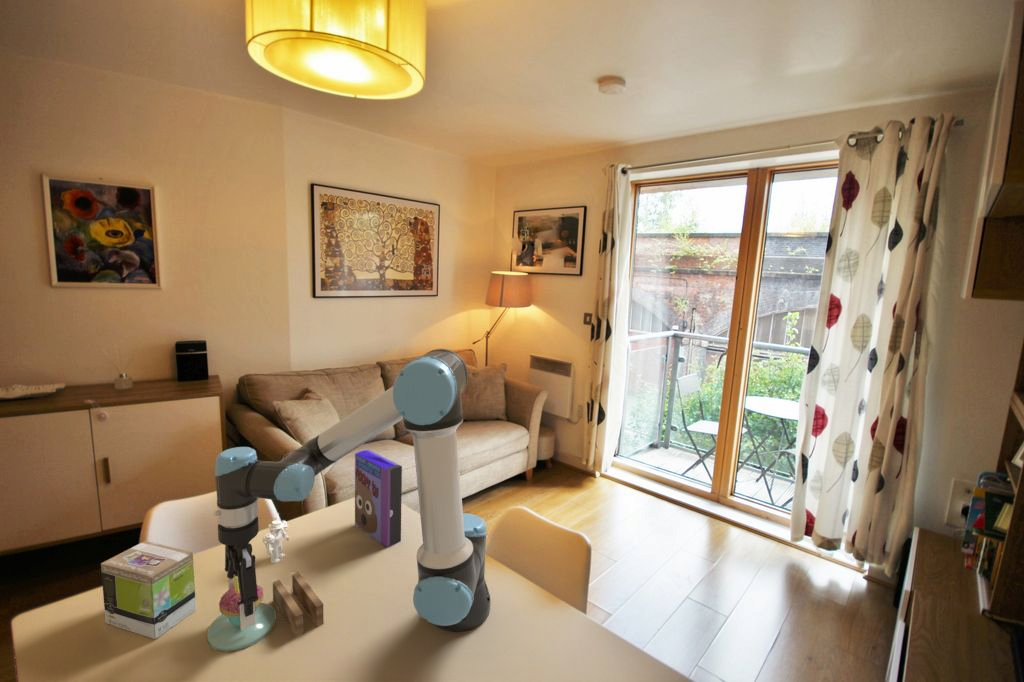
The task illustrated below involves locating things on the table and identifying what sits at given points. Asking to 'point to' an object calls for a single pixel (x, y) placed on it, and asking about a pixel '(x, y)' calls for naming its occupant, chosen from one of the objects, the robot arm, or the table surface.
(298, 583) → the brown flat block
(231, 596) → the cupcake
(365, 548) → the table surface
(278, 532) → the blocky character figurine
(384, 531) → the cereal box
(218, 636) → the plate
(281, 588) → the rail
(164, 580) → the tea box
